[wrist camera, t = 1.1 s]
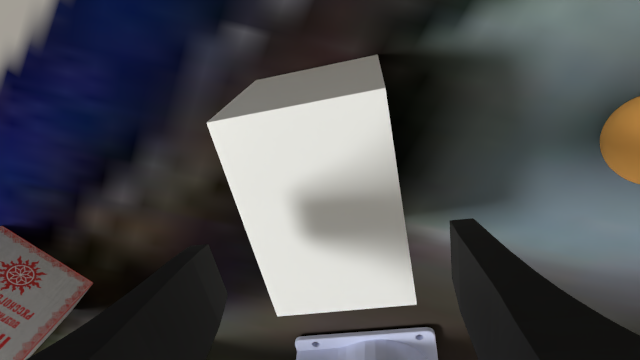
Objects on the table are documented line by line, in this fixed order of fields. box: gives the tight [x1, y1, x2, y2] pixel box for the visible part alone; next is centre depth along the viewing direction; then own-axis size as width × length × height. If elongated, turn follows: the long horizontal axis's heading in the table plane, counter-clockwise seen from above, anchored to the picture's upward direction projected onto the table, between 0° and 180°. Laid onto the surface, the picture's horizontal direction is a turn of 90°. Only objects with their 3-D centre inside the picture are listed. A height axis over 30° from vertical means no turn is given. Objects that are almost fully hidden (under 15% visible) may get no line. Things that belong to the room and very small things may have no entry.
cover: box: [207, 55, 417, 316], centre depth 17 cm, size 6×9×7 cm, turn 13°
